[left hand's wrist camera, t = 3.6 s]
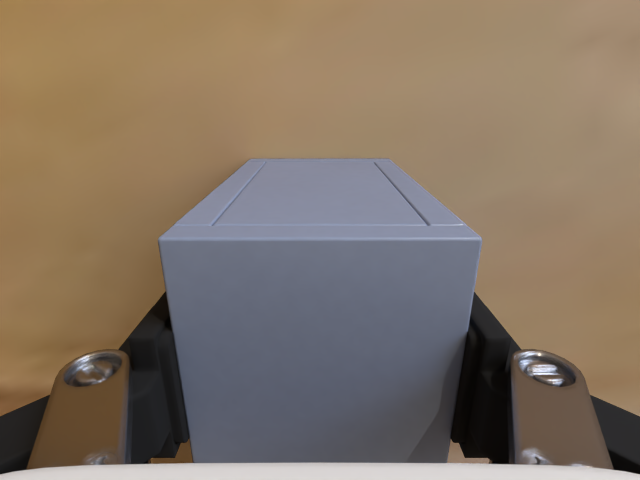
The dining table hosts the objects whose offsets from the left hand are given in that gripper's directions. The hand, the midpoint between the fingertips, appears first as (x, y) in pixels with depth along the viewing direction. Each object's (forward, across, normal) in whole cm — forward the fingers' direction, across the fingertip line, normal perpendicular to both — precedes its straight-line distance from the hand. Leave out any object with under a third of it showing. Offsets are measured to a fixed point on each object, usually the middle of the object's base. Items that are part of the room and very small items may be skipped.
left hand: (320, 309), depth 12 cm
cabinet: (+7, 0, -6) cm, 9 cm away
